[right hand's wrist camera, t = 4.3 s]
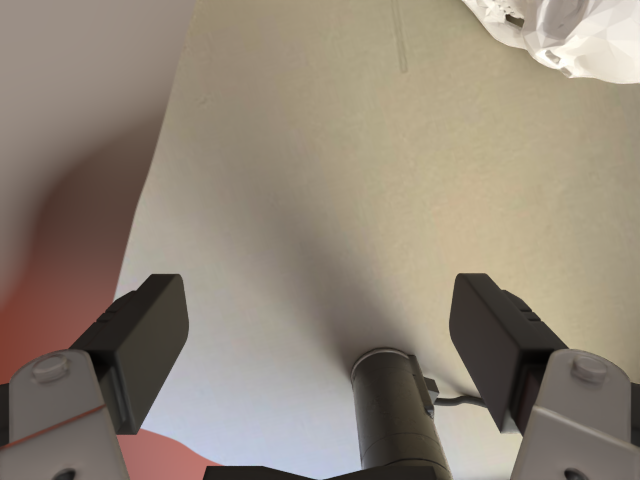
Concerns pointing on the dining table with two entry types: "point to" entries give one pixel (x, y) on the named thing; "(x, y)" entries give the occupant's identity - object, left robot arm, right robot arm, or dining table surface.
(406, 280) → the dining table surface
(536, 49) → the skull
